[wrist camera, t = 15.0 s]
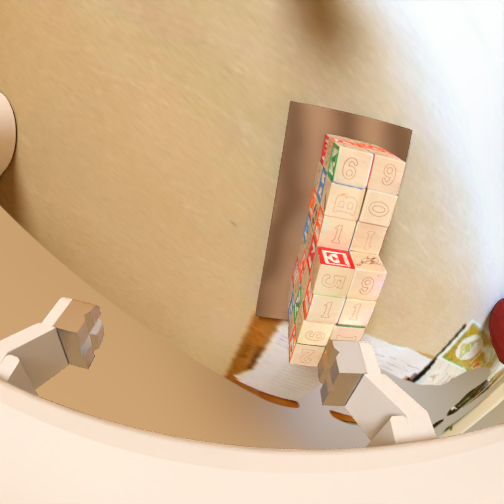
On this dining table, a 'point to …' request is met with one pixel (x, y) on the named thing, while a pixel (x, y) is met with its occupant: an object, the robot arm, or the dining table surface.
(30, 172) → the dining table surface
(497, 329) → the apple
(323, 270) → the stack of blocks
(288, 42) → the dining table surface
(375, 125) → the walnut board
